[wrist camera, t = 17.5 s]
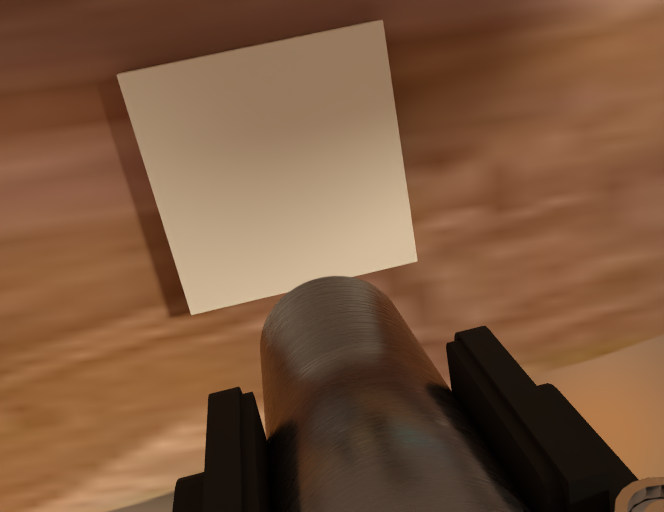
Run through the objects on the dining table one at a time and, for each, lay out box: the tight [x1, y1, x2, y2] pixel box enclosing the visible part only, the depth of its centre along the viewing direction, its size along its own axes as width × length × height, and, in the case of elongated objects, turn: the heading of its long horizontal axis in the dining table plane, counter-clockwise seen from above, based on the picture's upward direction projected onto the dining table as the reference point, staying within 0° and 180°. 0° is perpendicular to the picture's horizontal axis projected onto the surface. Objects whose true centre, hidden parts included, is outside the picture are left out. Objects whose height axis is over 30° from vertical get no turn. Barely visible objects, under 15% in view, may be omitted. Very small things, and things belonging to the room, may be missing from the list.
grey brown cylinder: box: [260, 276, 531, 512], centre depth 10 cm, size 4×4×10 cm
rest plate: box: [117, 20, 417, 315], centre depth 30 cm, size 12×12×1 cm
